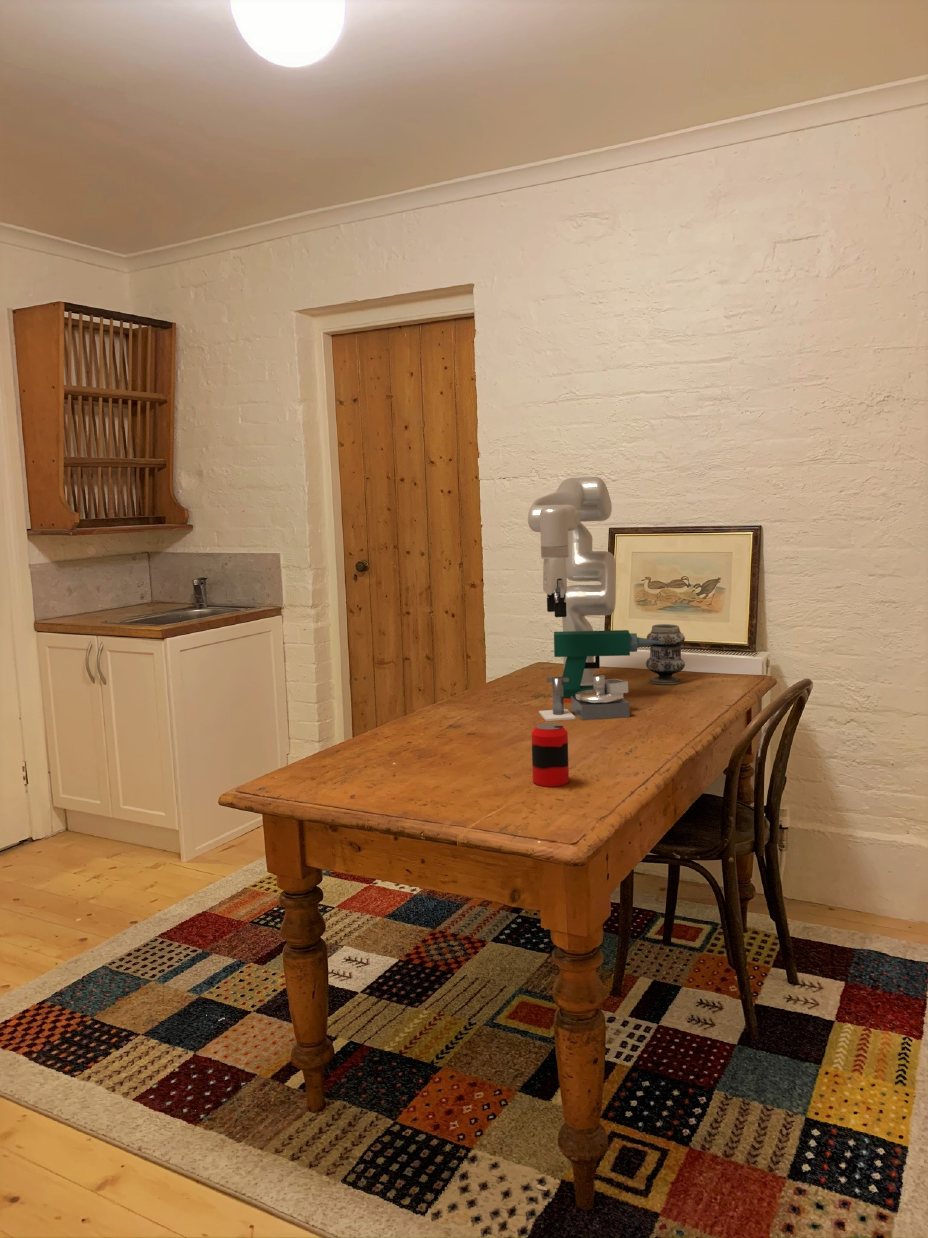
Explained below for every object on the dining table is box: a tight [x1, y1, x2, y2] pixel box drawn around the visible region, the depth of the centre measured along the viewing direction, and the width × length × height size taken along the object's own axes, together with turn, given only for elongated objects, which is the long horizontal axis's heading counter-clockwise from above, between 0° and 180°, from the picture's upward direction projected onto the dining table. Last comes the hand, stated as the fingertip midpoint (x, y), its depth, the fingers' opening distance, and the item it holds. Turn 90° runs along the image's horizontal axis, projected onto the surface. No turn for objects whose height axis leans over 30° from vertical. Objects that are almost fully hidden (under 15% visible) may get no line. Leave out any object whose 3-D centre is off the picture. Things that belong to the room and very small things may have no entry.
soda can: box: [530, 722, 570, 788], centre depth 200 cm, size 8×8×12 cm
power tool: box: [553, 629, 661, 704], centre depth 278 cm, size 32×7×20 cm, turn 84°
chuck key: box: [546, 676, 569, 715], centre depth 260 cm, size 3×6×10 cm, turn 84°
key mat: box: [538, 708, 576, 722], centre depth 261 cm, size 10×8×1 cm
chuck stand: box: [570, 695, 630, 721], centre depth 262 cm, size 13×13×4 cm
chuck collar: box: [576, 674, 629, 703], centre depth 261 cm, size 13×14×6 cm
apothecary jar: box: [645, 623, 686, 686], centre depth 301 cm, size 12×12×18 cm
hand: (556, 614), depth 264 cm, fingers open, 9 cm apart
